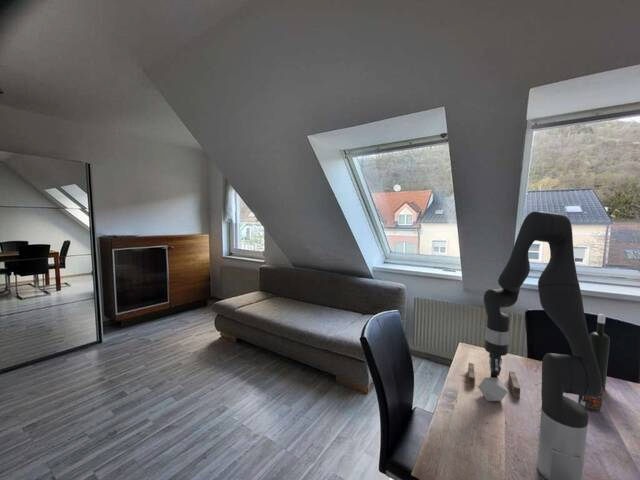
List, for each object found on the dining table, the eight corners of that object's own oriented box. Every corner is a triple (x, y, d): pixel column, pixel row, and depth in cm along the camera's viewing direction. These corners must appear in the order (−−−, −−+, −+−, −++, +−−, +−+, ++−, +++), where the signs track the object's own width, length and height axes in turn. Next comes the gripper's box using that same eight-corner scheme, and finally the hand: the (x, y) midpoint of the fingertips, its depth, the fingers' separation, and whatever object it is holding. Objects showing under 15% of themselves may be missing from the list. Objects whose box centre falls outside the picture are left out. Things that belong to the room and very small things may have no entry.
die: (504, 412, 101) (516, 387, 102) (482, 398, 102) (494, 374, 103) (491, 403, 109) (502, 380, 110) (471, 390, 110) (482, 368, 112)
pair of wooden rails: (519, 398, 107) (520, 388, 107) (468, 386, 114) (469, 377, 114) (514, 381, 118) (514, 372, 117) (468, 371, 125) (468, 362, 125)
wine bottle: (581, 383, 116) (588, 312, 113) (590, 380, 118) (597, 310, 115) (599, 392, 110) (607, 317, 107) (608, 388, 112) (615, 315, 109)
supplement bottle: (583, 411, 100) (586, 381, 99) (574, 400, 106) (577, 371, 104) (605, 414, 98) (608, 383, 97) (594, 403, 104) (597, 374, 103)
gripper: (511, 349, 101) (507, 394, 103) (505, 334, 112) (502, 375, 115) (486, 345, 104) (483, 389, 106) (484, 330, 116) (481, 370, 118)
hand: (493, 381), depth 110 cm, fingers closed
